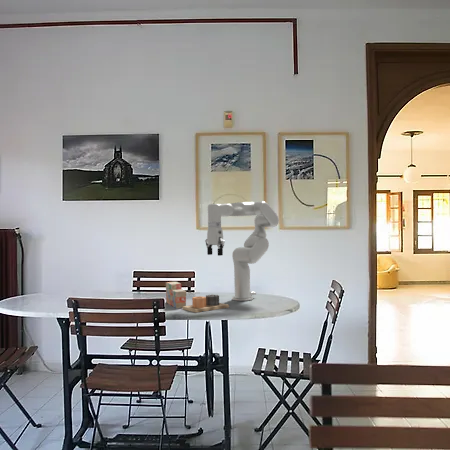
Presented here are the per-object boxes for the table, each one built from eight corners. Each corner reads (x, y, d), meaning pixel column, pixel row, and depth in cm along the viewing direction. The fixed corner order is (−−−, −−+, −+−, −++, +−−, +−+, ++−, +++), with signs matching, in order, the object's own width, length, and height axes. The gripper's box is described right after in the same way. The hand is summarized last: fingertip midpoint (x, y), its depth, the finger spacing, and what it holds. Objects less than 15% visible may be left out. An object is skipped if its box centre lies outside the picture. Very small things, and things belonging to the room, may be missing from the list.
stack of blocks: (186, 307, 267) (186, 285, 267) (175, 308, 265) (175, 286, 265) (176, 301, 287) (175, 281, 287) (166, 302, 285) (165, 281, 285)
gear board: (214, 304, 275) (214, 292, 275) (229, 307, 265) (228, 294, 265) (182, 309, 262) (182, 296, 262) (196, 312, 252) (196, 299, 251)
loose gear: (200, 304, 266) (200, 295, 266) (208, 306, 260) (208, 297, 260) (189, 306, 261) (189, 297, 261) (197, 308, 256) (197, 298, 255)
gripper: (229, 225, 271) (229, 255, 272) (210, 225, 285) (211, 254, 285) (218, 225, 267) (219, 256, 267) (200, 225, 280) (200, 254, 281)
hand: (215, 255), depth 276 cm, fingers open, 9 cm apart
